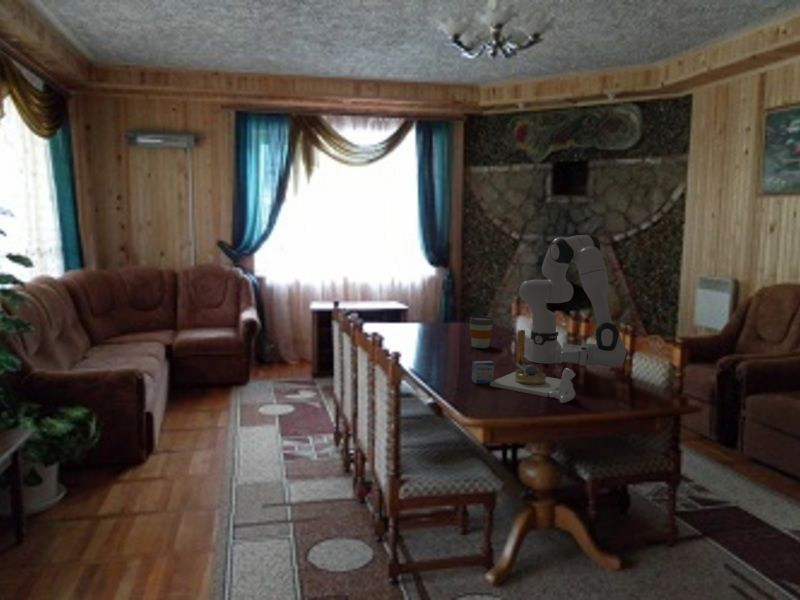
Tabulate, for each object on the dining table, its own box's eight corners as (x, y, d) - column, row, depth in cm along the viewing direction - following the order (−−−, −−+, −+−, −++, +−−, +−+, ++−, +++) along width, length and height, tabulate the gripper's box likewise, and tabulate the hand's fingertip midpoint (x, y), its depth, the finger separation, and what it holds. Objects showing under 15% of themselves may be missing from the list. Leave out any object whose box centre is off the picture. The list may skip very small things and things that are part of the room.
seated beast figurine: (546, 396, 233) (548, 365, 231) (565, 394, 236) (567, 364, 234) (561, 403, 224) (563, 371, 222) (581, 401, 227) (583, 370, 226)
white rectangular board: (515, 374, 265) (516, 356, 264) (569, 384, 251) (570, 365, 250) (489, 385, 246) (490, 366, 245) (546, 397, 232) (547, 376, 231)
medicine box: (475, 384, 248) (476, 363, 247) (471, 381, 252) (472, 360, 251) (493, 383, 250) (494, 362, 249) (489, 380, 254) (490, 360, 253)
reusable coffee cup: (486, 349, 316) (487, 321, 314) (464, 346, 322) (465, 318, 320) (495, 345, 326) (497, 318, 324) (474, 342, 333) (475, 315, 331)
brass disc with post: (549, 385, 243) (552, 339, 241) (520, 385, 242) (523, 339, 239) (531, 371, 264) (533, 329, 262) (504, 371, 263) (506, 329, 260)
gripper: (586, 342, 262) (553, 339, 267) (584, 351, 243) (548, 347, 247) (585, 356, 263) (552, 353, 267) (583, 366, 244) (548, 363, 248)
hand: (550, 350), depth 257 cm, fingers closed
